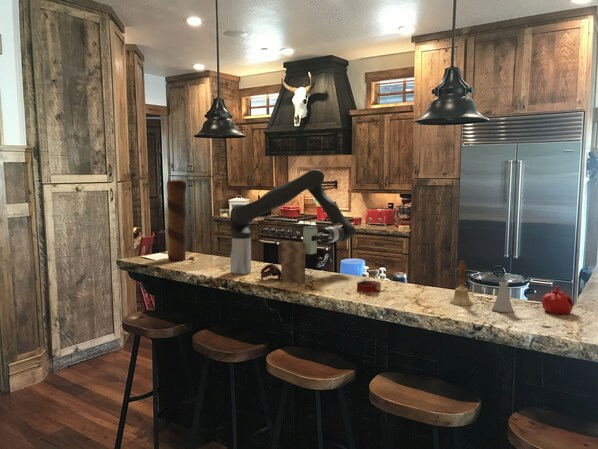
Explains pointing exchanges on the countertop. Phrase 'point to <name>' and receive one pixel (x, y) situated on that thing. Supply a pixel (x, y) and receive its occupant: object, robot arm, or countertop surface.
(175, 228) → the wafer roll
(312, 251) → the grey-green cylinder
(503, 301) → the flask
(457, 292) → the hand bell
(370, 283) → the canned food
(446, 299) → the countertop surface
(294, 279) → the brown upright block
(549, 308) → the pomegranate
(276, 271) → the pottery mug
